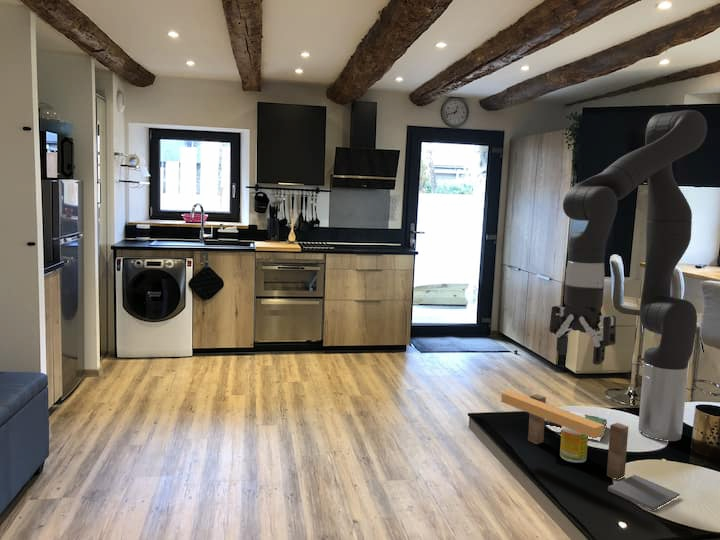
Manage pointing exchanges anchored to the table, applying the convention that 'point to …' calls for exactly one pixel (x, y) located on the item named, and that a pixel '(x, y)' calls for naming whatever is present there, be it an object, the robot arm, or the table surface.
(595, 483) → the table surface
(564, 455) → the supplement bottle
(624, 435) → the stand
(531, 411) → the bar
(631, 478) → the book
